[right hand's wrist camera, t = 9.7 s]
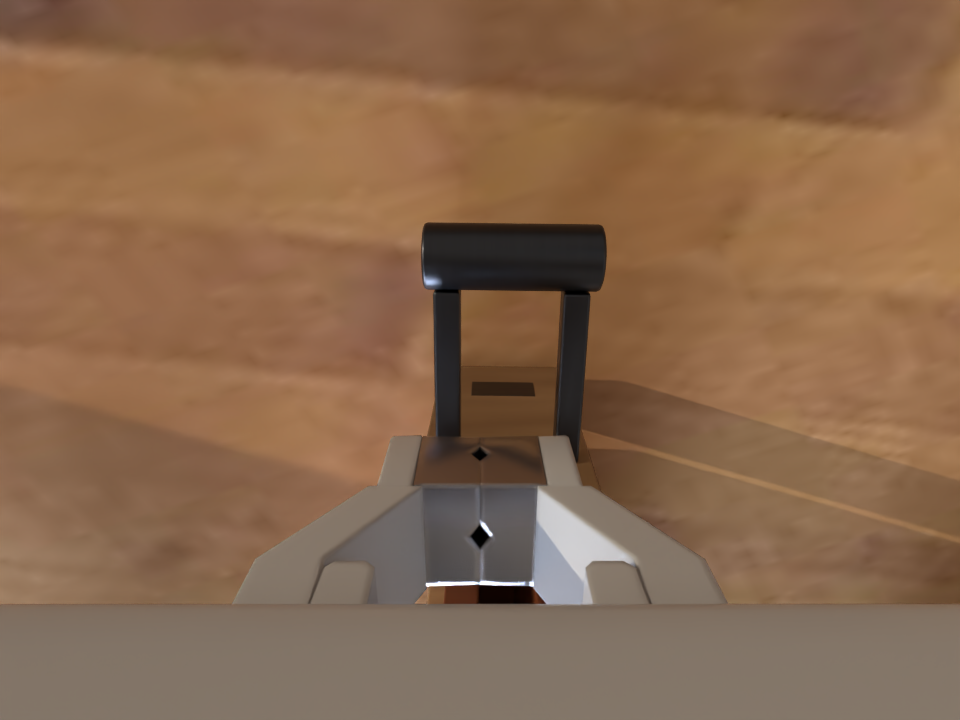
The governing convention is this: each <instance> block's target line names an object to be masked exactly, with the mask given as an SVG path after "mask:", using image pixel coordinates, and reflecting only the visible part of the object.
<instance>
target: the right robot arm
mask: <svg viewBox="0 0 960 720" xmlns="http://www.w3.org/2000/svg"><path fill="white" fill-rule="evenodd" d="M445 585H515V586H534V590H535V591H536V592H537V593H538V594H539V596H540V597H541V598H542V599H543V600H544V602H545V603H546V604H414V603H415V602H416V601H417V600H418V598H419V597H420V596H421V595H422V594H423V592H424V591H425V590H426V589H427V588H426V586H445ZM0 720H960V604H728V602H727V600H726V599H725V597H724V595H723V593H722V591H721V589H720V587H719V585H718V583H717V581H716V579H715V577H714V575H713V574H712V572H711V570H710V568H709V566H708V564H707V562H706V560H705V559H704V558H702V557H701V556H699V555H698V554H696V553H694V552H693V551H691V550H690V549H688V548H687V547H685V546H684V545H682V544H681V543H679V542H677V541H676V540H674V539H673V538H671V537H670V536H668V535H667V534H665V533H663V532H662V531H660V530H659V529H657V528H656V527H654V526H653V525H651V524H649V523H648V522H646V521H645V520H643V519H642V518H640V517H639V516H637V515H636V514H634V513H632V512H631V511H629V510H628V509H626V508H625V507H623V506H622V505H620V504H618V503H617V502H615V501H614V500H612V499H611V498H609V497H608V496H606V495H605V494H603V493H601V492H600V491H598V490H597V489H595V488H594V487H592V486H583V485H582V481H581V478H580V474H579V471H578V468H577V464H576V461H575V457H574V454H573V451H572V447H571V444H570V440H569V437H567V436H566V435H559V436H509V437H450V436H423V437H422V436H421V435H414V436H393V437H392V438H391V440H390V443H389V446H388V450H387V453H386V457H385V460H384V464H383V467H382V471H381V474H380V478H379V481H378V484H377V486H368V487H366V488H365V489H363V490H362V491H360V492H359V493H357V494H355V495H354V496H352V497H351V498H349V499H348V500H346V501H345V502H343V503H341V504H340V505H338V506H337V507H335V508H334V509H332V510H330V511H329V512H327V513H326V514H324V515H323V516H321V517H320V518H318V519H316V520H315V521H313V522H312V523H310V524H309V525H307V526H306V527H304V528H302V529H301V530H299V531H298V532H296V533H295V534H293V535H292V536H290V537H288V538H287V539H285V540H284V541H282V542H281V543H279V544H278V545H276V546H274V547H273V548H271V549H270V550H268V551H267V552H265V553H264V554H262V555H260V556H259V557H257V558H256V559H255V561H254V563H253V565H252V566H251V568H250V570H249V572H248V574H247V576H246V578H245V580H244V582H243V583H242V585H241V587H240V589H239V591H238V593H237V595H236V597H235V599H234V601H233V602H232V604H0Z"/></svg>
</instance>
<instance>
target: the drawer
mask: <svg viewBox="0 0 960 720" xmlns="http://www.w3.org/2000/svg"><path fill="white" fill-rule="evenodd" d="M606 257H607V245H606V235H605V231H604V228H603V226H601V225H593V224H508V223H426V224H425V225H424V227H423V232H422V243H421V267H422V279H423V284H424V287H425V288H426V289H429V290H435V291H434V293H433V312H434V370H435V402H434V406H433V411H432V416H431V420H430V425H429V430H428V434H427V436H450V437H509V436H559V435H566V436H567V437H569V440H570V444H571V447H572V451H573V454H574V457H575V461H576V464H577V468H578V471H579V474H580V478H581V481H582V485H583V486H592V487H594V488H595V489H597V490H598V491H600V492H601V489H600V486H599V483H598V480H597V477H596V474H595V471H594V468H593V464H592V461H591V458H590V455H589V452H588V449H587V446H586V443H585V440H584V437H583V434H582V431H581V418H582V405H583V391H584V378H585V365H586V351H587V338H588V324H589V311H590V297H591V296H590V294H589V292H596V291H599V290H600V289H601V287H602V284H603V281H604V276H605V270H606ZM461 290H507V291H561V304H560V322H559V339H558V356H557V368H554V367H483V366H461ZM601 493H602V492H601ZM443 604H546V603H545V602H544V600H543V599H542V598H541V597H540V596H539V594H538V593H537V592H536V591H535V590H534V586H515V585H445V591H444V601H443Z"/></svg>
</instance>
